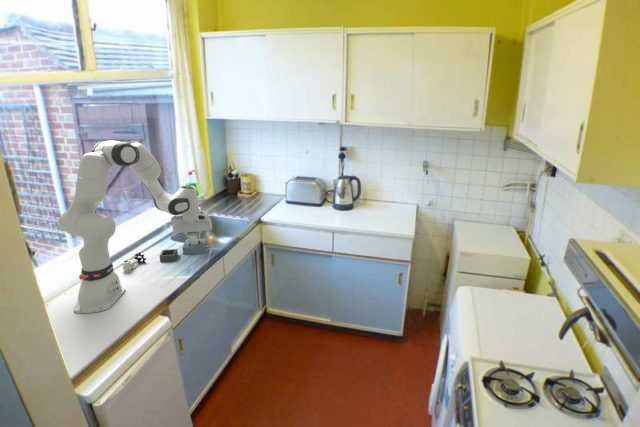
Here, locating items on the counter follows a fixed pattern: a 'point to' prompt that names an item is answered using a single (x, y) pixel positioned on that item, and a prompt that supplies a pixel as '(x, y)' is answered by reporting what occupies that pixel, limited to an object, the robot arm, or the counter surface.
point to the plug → (193, 238)
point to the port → (194, 247)
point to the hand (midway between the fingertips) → (193, 238)
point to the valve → (132, 263)
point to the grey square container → (168, 255)
